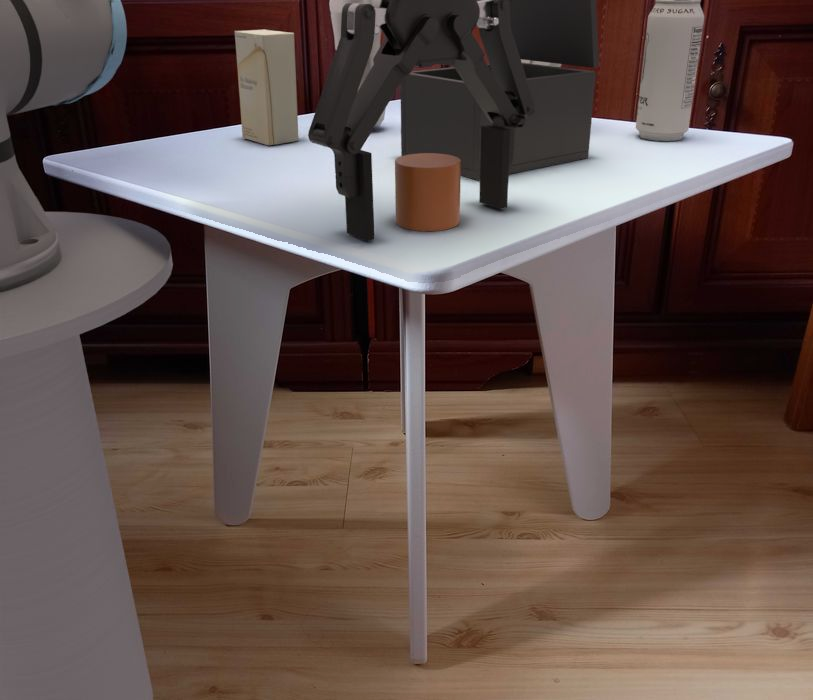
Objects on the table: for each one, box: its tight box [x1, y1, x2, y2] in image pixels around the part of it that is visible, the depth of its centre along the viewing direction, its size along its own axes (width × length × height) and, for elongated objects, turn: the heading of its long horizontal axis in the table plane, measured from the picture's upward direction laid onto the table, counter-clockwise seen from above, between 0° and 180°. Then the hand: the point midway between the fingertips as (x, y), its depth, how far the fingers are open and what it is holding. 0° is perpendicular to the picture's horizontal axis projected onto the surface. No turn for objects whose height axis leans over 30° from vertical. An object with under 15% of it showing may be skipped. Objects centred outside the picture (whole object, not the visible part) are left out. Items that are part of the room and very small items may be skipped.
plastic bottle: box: [328, 0, 387, 128], centre depth 98 cm, size 6×7×20 cm
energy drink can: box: [635, 0, 705, 142], centre depth 92 cm, size 6×6×15 cm
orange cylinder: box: [394, 153, 462, 232], centre depth 64 cm, size 5×5×5 cm
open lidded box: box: [399, 63, 597, 181], centre depth 84 cm, size 16×13×9 cm
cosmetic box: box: [234, 29, 299, 146], centre depth 94 cm, size 6×4×12 cm
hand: (430, 220), depth 65 cm, fingers open, 13 cm apart
